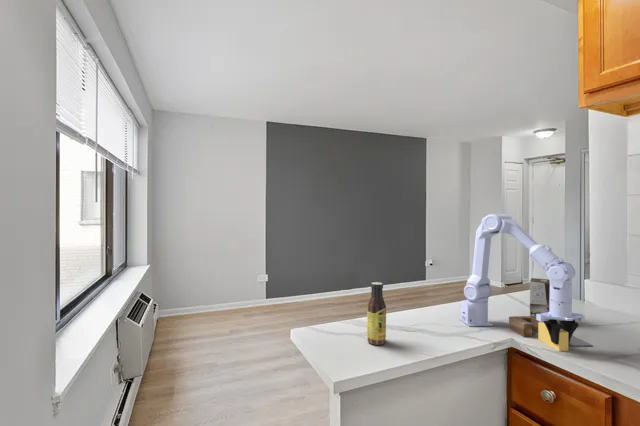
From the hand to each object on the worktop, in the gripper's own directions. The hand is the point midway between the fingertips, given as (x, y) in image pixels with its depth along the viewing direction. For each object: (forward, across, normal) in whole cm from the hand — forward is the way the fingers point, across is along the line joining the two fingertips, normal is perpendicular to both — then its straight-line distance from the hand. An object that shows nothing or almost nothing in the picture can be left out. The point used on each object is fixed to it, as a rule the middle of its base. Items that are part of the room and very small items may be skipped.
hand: (560, 343), depth 102 cm
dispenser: (+2, 0, +14) cm, 14 cm away
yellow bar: (+2, 0, +3) cm, 4 cm away
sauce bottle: (+2, -58, +8) cm, 58 cm away
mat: (+2, +9, +7) cm, 12 cm away
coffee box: (+2, +14, +26) cm, 30 cm away
